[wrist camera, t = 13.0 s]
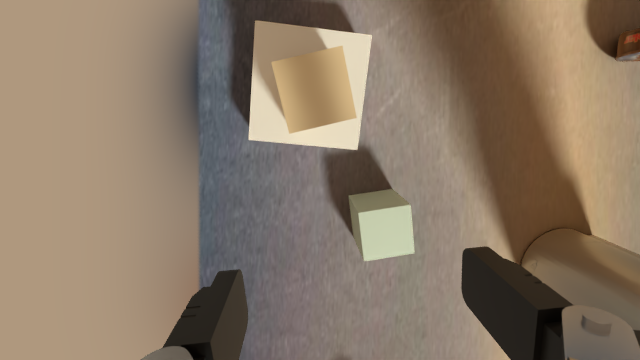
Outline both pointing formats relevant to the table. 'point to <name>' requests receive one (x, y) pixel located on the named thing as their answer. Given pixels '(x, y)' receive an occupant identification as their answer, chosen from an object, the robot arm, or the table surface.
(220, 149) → the table surface
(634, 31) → the tin
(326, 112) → the oak cube
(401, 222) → the sage cube
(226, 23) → the table surface
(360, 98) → the cream base block
